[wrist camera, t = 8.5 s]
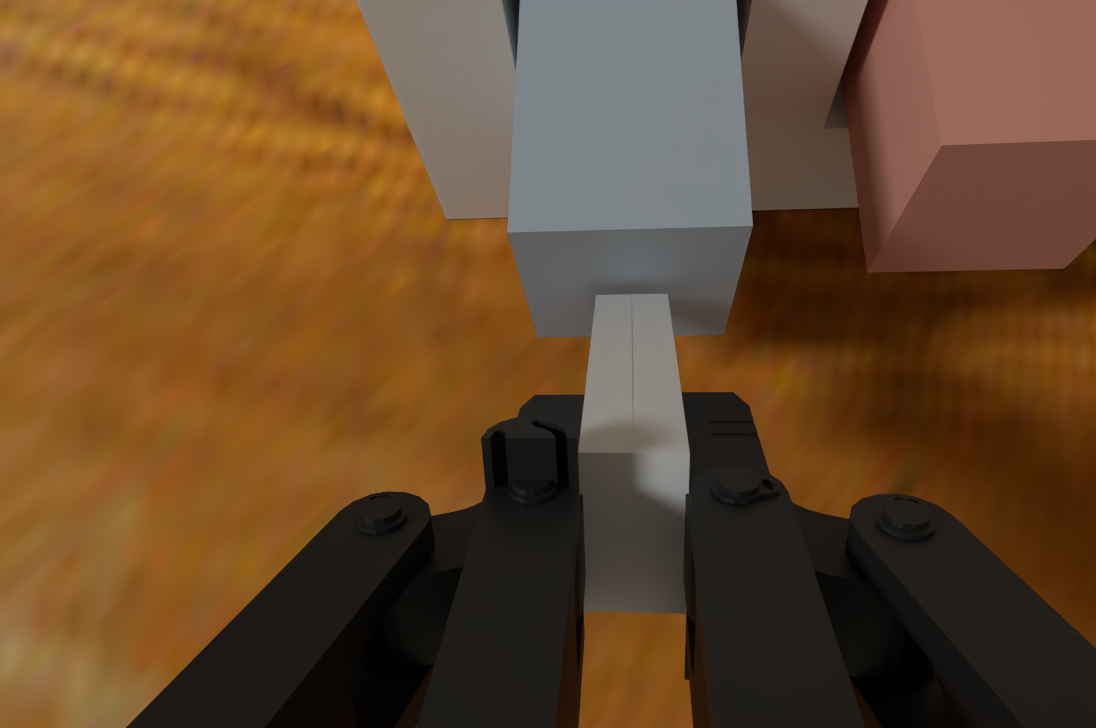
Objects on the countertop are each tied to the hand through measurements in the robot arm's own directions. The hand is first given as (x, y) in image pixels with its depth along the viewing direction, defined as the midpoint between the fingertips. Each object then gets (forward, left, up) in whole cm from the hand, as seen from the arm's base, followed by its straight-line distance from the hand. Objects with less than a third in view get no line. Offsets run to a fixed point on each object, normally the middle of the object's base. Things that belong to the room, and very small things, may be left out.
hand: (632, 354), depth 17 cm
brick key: (-8, +11, -2) cm, 14 cm away
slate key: (-9, +2, -2) cm, 9 cm away
